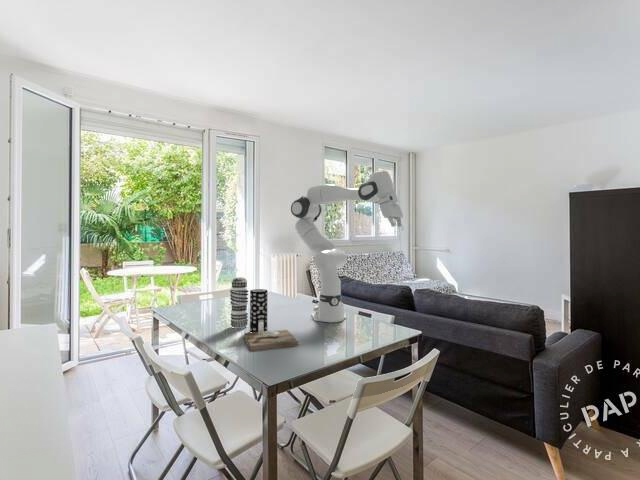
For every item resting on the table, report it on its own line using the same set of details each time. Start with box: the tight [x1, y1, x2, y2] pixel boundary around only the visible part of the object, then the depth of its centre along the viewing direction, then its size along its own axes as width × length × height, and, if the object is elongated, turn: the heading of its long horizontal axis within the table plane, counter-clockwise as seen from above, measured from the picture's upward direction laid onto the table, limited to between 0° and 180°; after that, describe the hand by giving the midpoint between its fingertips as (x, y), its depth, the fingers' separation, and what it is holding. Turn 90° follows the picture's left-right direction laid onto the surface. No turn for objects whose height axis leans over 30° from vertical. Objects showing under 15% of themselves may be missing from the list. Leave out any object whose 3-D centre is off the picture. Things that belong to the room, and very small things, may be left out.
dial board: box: [243, 329, 299, 351], centre depth 155 cm, size 19×20×2 cm
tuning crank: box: [257, 322, 279, 337], centre depth 155 cm, size 10×4×6 cm, turn 110°
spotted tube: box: [249, 288, 268, 333], centre depth 171 cm, size 8×8×20 cm
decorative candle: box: [229, 276, 250, 329], centre depth 178 cm, size 9×9×25 cm
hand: (397, 226), depth 175 cm, fingers open, 8 cm apart
